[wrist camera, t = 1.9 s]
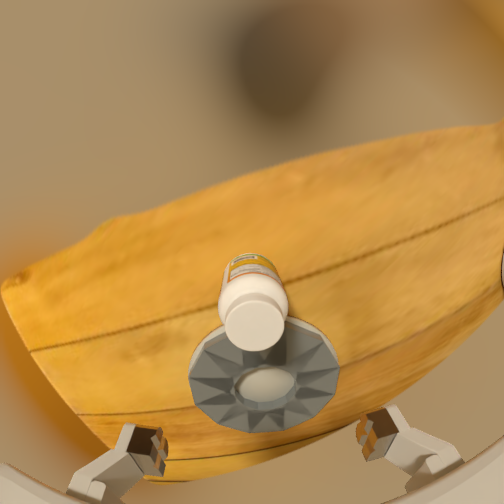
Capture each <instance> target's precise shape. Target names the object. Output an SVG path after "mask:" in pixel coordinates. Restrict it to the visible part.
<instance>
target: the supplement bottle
mask: <svg viewBox="0 0 504 504" xmlns="http://www.w3.org/2000/svg"><path fill="white" fill-rule="evenodd" d="M218 313H219V317H220V319H221V322H222V323H223V325H224V326H225V331H226V334H227V337H228V338H229V340H230V341H231V342H232V343H233V344H234V345H235V346H237V347H238V348H240V349H243V350H246V351H261V350H265V349H267V348H269V347H271V346H273V345H274V344H275V343H276V342H277V341H278V340H279V339H280V337H281V336H282V334H283V331H284V321H285V320H286V317H287V314H288V299H287V296H286V293H285V291H284V288H283V286H282V283H281V280H280V278H279V275H278V272H277V270H276V268H275V266H274V265H273V264H272V262H271V261H270V260H268V259H267V258H266V257H264V256H262V255H259V254H255V253H246V254H242V255H239V256H237V257H236V258H234V259H233V260H232V261H231V262H230V263H229V264H228V265H227V267H226V269H225V271H224V274H223V280H222V285H221V290H220V295H219V301H218Z"/></svg>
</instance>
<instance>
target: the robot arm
mask: <svg viewBox="0 0 504 504" xmlns="http://www.w3.org/2000/svg"><path fill="white" fill-rule="evenodd" d="M502 281H503V285H504V255H503V263H502ZM360 421H361V422H360V423H359V424H357V428H356V437H357V440H358V443H359V444H361V445H362V446H363V449H362V453H363V455H364V457H365V460H366V462H367V461H371V460H375V459H378V458H381V457H384V458H385V459H387V460H388V461H390V462H391V463H393V464H394V465H396V466H397V467H399V468H400V469H402V470H403V471H405V472H406V473H408V474H409V475H411V476H412V478H411V479H410V480H409V481H408V482H407V483H406V485H405V488H406V491H407V494H405V495H402V496H400V497H397V498H395V499H392V500H390V501H387V502H384V503H382V504H504V435H503V436H502V437H501V438H499V439H498V440H497V441H496V442H494V443H493V444H492V445H490V446H489V447H488V448H486V449H485V450H483V451H482V452H481V453H479V454H478V455H476V456H475V457H473V458H472V459H470V460H469V461H467V462H466V463H465V462H464V461H463V459H462V458H461V456H460V455H459V453H458V452H457V450H456V449H455V447H454V446H453V445H452V444H450V443H448V442H445V441H443V440H441V439H438V438H436V437H434V436H431V435H429V434H427V433H425V432H422V431H420V430H418V429H416V428H414V427H413V428H410V427H409V425H408V424H407V422H406V420H405V419H404V417H403V416H402V414H401V413H400V411H399V409H398V408H397V406H396V405H395V404H392V405H389V406H386V407H381V408H378V409H374V410H371V411H367V412H363V413H362V414H361V415H360ZM162 435H163V431H162V429H161V427H153V426H146V425H139V424H133V423H126V424H125V425H124V426H123V429H122V431H121V434H120V436H119V439H118V441H117V444H116V446H115V449H114V450H113V449H111V450H109V451H108V452H106V453H105V454H103V455H102V456H100V457H99V458H97V459H96V460H94V461H92V462H91V463H89V464H88V465H86V466H85V467H83V468H81V469H80V470H78V471H76V472H75V473H74V476H73V478H72V480H71V482H70V485H69V487H68V490H67V492H66V494H65V493H63V492H61V491H59V490H56V489H54V488H52V487H50V486H48V485H46V484H44V483H42V482H40V481H38V480H36V479H35V478H32V477H31V476H29V475H27V474H26V473H24V472H22V471H21V470H19V469H17V468H16V467H14V466H12V465H11V464H8V463H3V464H0V504H125V503H124V502H123V501H122V500H121V499H120V498H121V497H122V496H123V495H124V494H125V493H126V492H127V491H128V490H129V489H130V488H132V486H134V485H135V484H136V483H137V482H138V481H139V480H140V479H141V478H142V477H143V476H144V474H145V475H152V476H160V477H163V475H164V470H165V466H166V465H165V463H164V461H163V460H164V459H166V458H167V456H168V442H167V440H166V438H165V437H163V436H162Z"/></svg>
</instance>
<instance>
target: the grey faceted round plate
mask: <svg viewBox="0 0 504 504" xmlns="http://www.w3.org/2000/svg"><path fill="white" fill-rule="evenodd" d="M339 368H340V367H339V365H338V358H337V355H336V352H335V350H334V348H333V346H332V344H331V342H330V341H329V339H328V338H327V337H326V335H325V334H324V333H323V332H321V331H320V330H319V329H318V328H316V327H315V326H314V325H312V324H310V323H308V322H306V321H304V320H301V319H298V318H296V317H292V316H287V317H286V320H285V321H284V331H283V334H282V336H281V337H280V339H279V340H278V341H277V342H276V343H275V344H274V345H273V346H271V347H269V348H267V349H265V350H261V351H246V350H243V349H240V348H238V347H237V346H235V345H234V344H233V343H232V342H231V341H230V340H229V338H228V337H227V334H226V331H225V326H224V325H221V326H219V327H217V328H216V329H214V330H213V331H211V332H210V333H209V334H208V335H207V336H205V337H204V338H203V340H202V341H201V342H200V343H199V344H198V346H197V347H196V349H195V351H194V353H193V355H192V358H191V361H190V365H189V370H188V379H189V385H190V388H191V391H192V395H193V399H194V402H195V405H196V406H197V407H198V408H200V409H201V410H202V411H203V412H204V413H205V414H206V415H208V416H209V417H210V418H211V419H212V420H213V421H215V422H216V423H217V424H219V425H223V426H226V427H229V428H233V429H236V430H240V431H244V432H247V433H259V432H273V431H284V430H286V429H288V428H291V427H293V426H295V425H298V424H300V423H302V422H304V421H306V420H309V419H311V418H313V417H314V416H315V415H316V414H317V413H318V412H319V411H320V410H321V409H322V408H323V407H324V406H325V405H326V404H327V403H328V401H329V400H330V399H331V398H332V397H333V396H334V395H335V391H336V385H337V380H338V374H339Z"/></svg>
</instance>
